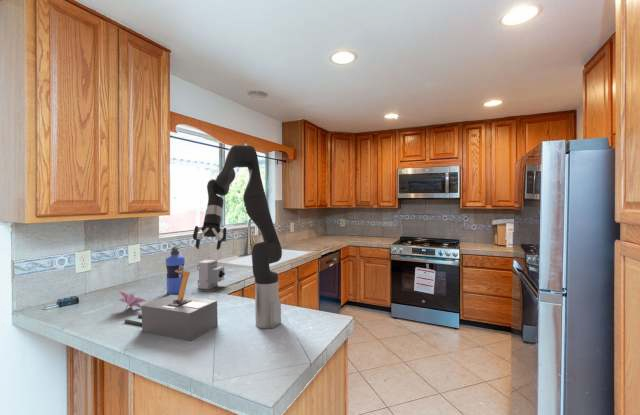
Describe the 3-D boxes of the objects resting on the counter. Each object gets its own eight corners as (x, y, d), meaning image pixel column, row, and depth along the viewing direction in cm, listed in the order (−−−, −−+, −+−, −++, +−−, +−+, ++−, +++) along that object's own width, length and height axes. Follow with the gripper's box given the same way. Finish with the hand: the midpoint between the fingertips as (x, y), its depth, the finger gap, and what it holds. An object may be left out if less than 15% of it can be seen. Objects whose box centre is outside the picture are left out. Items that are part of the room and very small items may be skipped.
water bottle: (189, 290, 167) (188, 246, 166) (176, 295, 158) (175, 248, 157) (175, 289, 169) (174, 245, 169) (162, 294, 160) (161, 248, 160)
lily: (147, 314, 135) (152, 292, 139) (119, 311, 126) (125, 288, 131) (133, 317, 141) (138, 297, 145) (106, 315, 132) (112, 293, 136)
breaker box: (217, 325, 118) (217, 297, 118) (190, 341, 105) (189, 309, 105) (147, 313, 133) (146, 288, 132) (115, 326, 120) (114, 297, 119)
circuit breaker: (220, 289, 168) (219, 263, 168) (197, 288, 171) (197, 262, 170) (227, 285, 175) (226, 260, 175) (205, 284, 178) (204, 259, 178)
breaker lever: (182, 302, 116) (190, 272, 119) (180, 302, 115) (187, 271, 118) (178, 301, 117) (185, 271, 120) (176, 301, 116) (183, 271, 119)
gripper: (196, 212, 137) (189, 245, 129) (228, 214, 139) (223, 246, 132) (198, 219, 143) (192, 251, 136) (229, 221, 146) (224, 252, 138)
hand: (207, 248), depth 134 cm, fingers open, 8 cm apart
